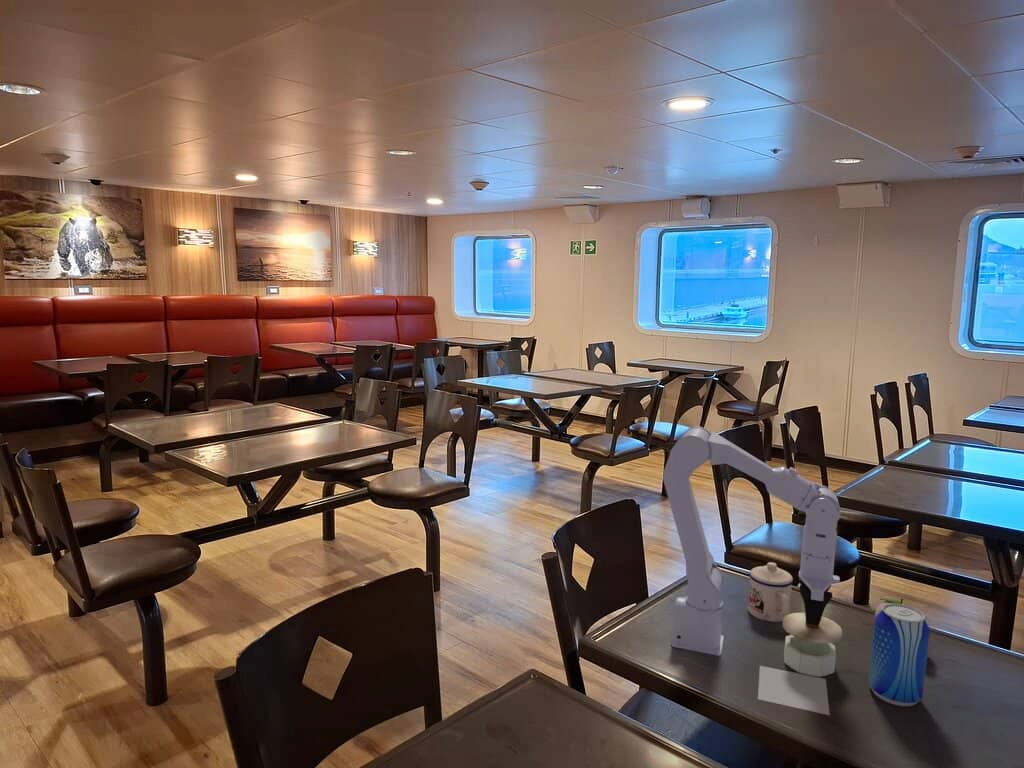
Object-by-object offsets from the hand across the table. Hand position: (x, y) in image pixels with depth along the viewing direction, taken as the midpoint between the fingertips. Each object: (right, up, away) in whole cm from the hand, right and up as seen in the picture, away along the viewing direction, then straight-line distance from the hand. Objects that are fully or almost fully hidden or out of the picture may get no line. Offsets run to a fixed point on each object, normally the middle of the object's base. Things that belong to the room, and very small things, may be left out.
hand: (812, 620), depth 131 cm
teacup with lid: (0, -6, +21) cm, 22 cm away
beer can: (+11, -11, -8) cm, 18 cm away
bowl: (0, -9, +1) cm, 9 cm away
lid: (0, -2, 0) cm, 2 cm away
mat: (-7, -10, -7) cm, 14 cm away
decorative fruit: (+21, -8, +9) cm, 25 cm away
